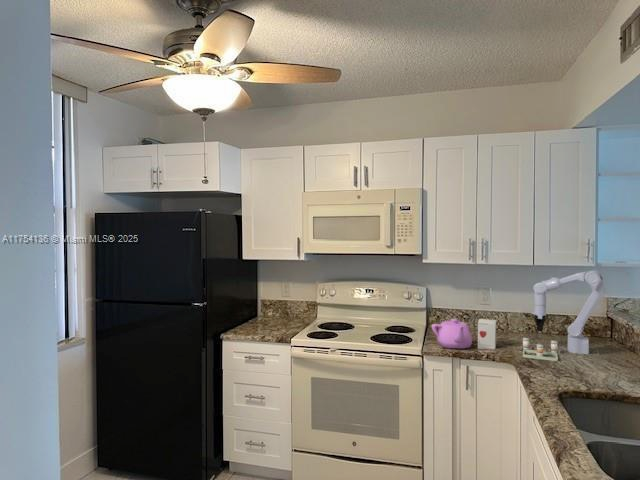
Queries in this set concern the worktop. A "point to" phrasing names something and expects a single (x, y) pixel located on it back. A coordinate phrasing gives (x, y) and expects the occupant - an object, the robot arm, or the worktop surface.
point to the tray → (540, 356)
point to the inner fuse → (554, 346)
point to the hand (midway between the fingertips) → (539, 329)
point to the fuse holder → (543, 350)
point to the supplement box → (486, 334)
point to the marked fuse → (539, 350)
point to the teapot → (453, 334)
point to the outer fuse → (526, 343)
